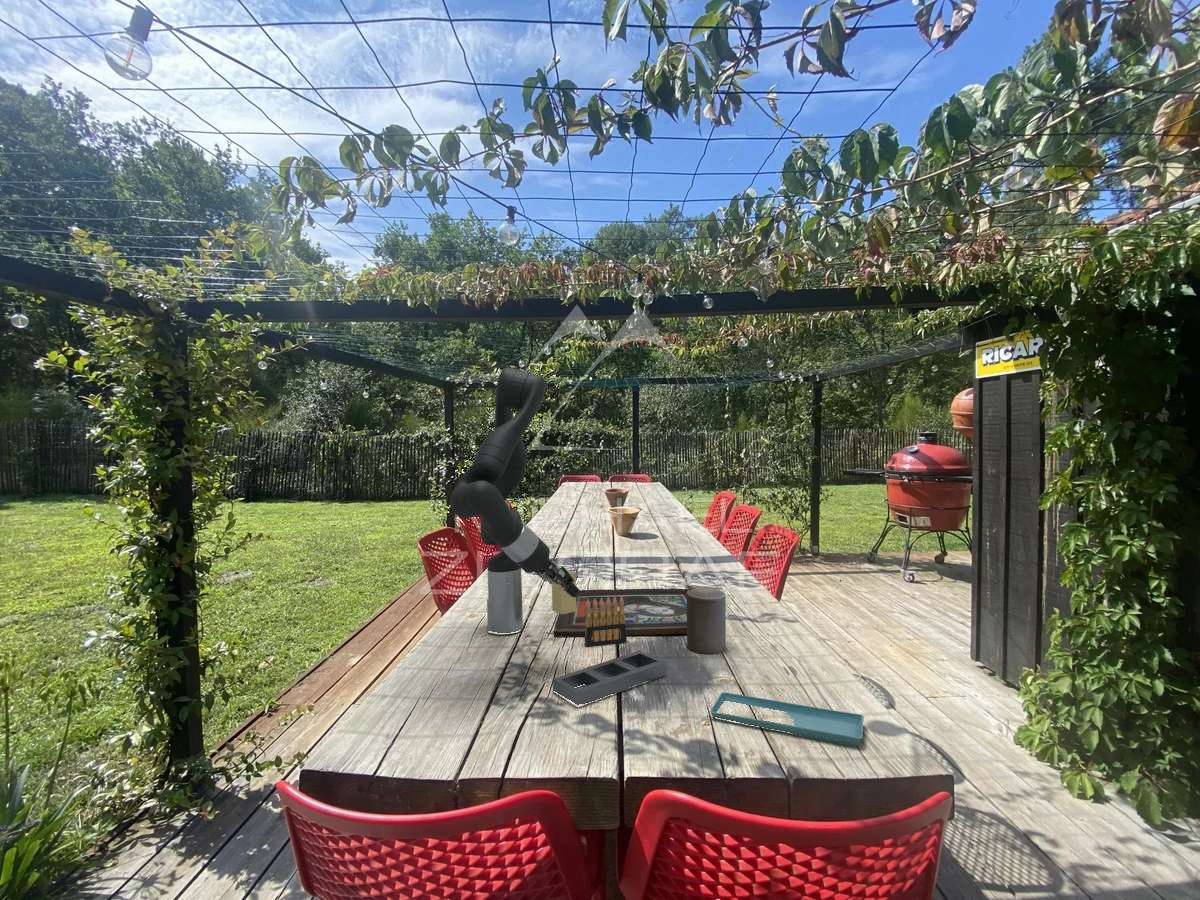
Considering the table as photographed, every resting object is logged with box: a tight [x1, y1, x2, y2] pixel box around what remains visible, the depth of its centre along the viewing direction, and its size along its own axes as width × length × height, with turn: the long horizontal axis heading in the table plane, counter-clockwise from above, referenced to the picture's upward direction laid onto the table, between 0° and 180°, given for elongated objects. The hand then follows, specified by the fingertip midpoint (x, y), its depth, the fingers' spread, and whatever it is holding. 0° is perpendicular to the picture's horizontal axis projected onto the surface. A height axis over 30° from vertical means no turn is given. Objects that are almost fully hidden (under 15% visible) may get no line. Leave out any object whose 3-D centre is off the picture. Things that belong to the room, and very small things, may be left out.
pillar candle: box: [686, 587, 727, 655], centre depth 146 cm, size 10×10×15 cm
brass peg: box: [551, 569, 577, 614], centre depth 136 cm, size 4×4×9 cm
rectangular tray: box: [709, 691, 865, 748], centre depth 108 cm, size 26×9×2 cm, turn 64°
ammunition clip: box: [584, 596, 628, 648], centre depth 150 cm, size 11×2×12 cm, turn 103°
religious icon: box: [553, 587, 697, 638], centre depth 174 cm, size 40×45×3 cm
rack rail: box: [552, 650, 667, 705], centre depth 126 cm, size 24×9×3 cm, turn 127°
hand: (570, 591), depth 137 cm, fingers closed on brass peg, 4 cm apart
